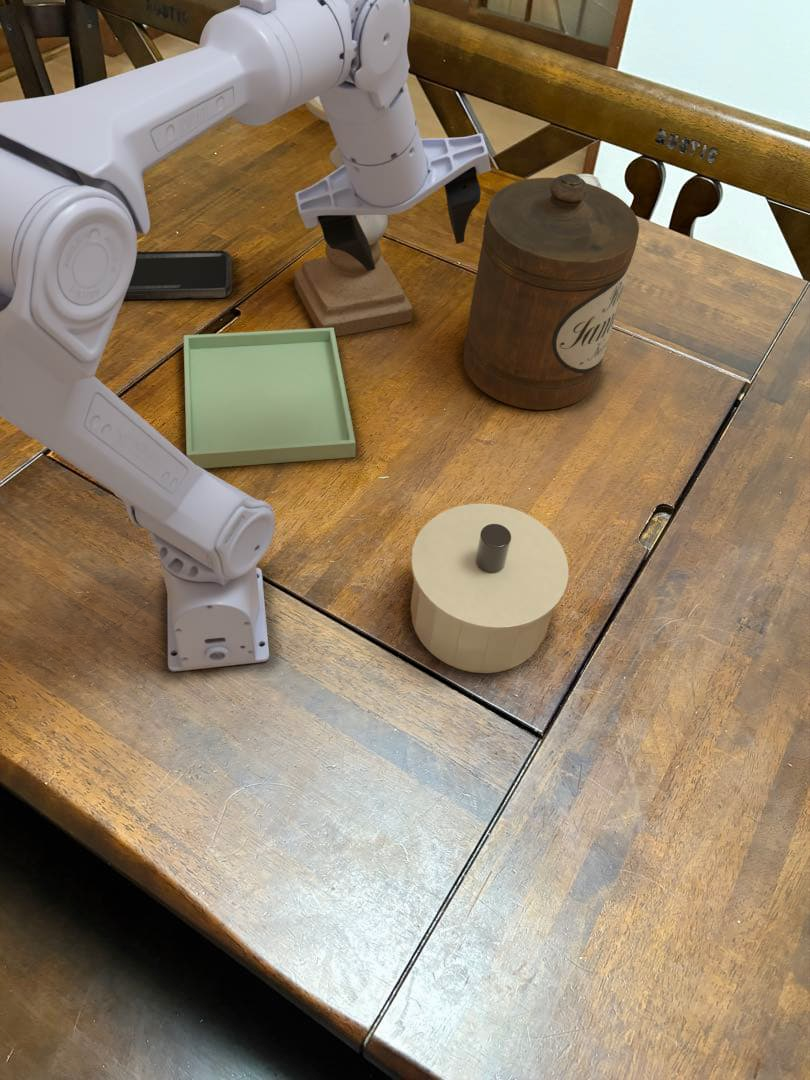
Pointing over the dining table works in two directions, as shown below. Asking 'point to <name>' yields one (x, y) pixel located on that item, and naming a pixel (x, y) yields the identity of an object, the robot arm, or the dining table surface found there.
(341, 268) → the candle holder
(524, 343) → the wooden container
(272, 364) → the tray
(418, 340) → the dining table surface
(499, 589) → the lid
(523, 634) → the tin
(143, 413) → the dining table surface
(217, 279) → the phone
